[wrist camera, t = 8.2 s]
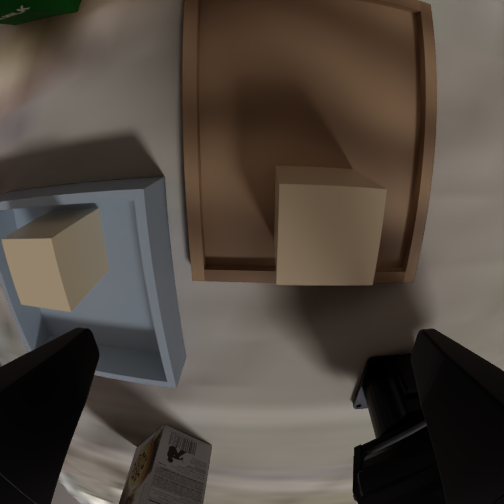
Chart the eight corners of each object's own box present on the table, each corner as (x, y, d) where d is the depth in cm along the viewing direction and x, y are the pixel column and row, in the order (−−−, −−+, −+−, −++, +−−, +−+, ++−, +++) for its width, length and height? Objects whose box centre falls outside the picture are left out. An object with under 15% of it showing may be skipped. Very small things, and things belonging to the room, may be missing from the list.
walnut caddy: (406, 274, 20) (413, 282, 19) (196, 271, 20) (192, 280, 19) (422, 9, 12) (430, 4, 11) (190, -11, 13) (185, -18, 12)
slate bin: (186, 357, 24) (176, 388, 20) (49, 337, 24) (32, 359, 21) (164, 176, 18) (143, 188, 15) (9, 191, 19) (-20, 204, 15)
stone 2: (346, 241, 19) (372, 285, 14) (273, 240, 19) (276, 284, 14) (352, 169, 17) (386, 189, 12) (275, 165, 17) (279, 183, 12)
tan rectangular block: (109, 269, 20) (71, 312, 15) (62, 267, 21) (21, 304, 15) (98, 208, 19) (51, 238, 13) (50, 211, 19) (1, 239, 14)
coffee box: (179, 466, 32) (157, 569, 18) (135, 446, 31) (102, 551, 16) (215, 445, 29) (196, 573, 14) (163, 422, 28) (126, 555, 13)
